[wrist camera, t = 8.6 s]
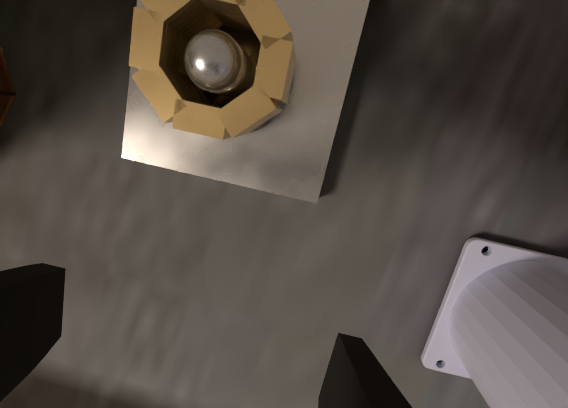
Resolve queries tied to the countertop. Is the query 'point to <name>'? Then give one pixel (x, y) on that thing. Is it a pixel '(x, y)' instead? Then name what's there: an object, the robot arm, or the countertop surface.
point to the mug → (5, 88)
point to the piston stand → (239, 78)
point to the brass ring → (176, 82)
